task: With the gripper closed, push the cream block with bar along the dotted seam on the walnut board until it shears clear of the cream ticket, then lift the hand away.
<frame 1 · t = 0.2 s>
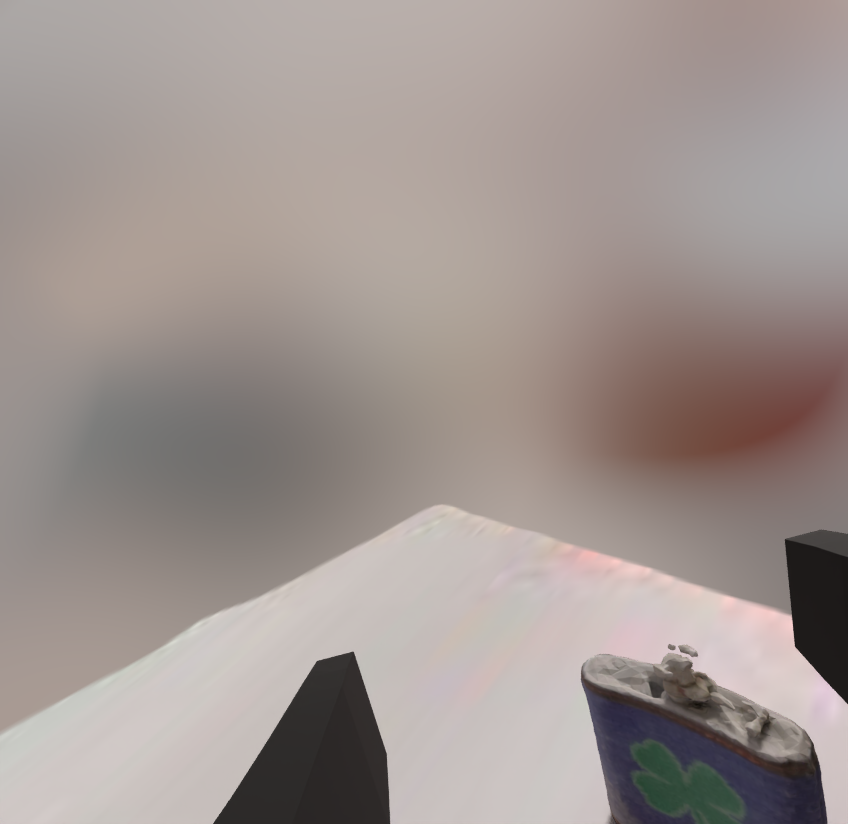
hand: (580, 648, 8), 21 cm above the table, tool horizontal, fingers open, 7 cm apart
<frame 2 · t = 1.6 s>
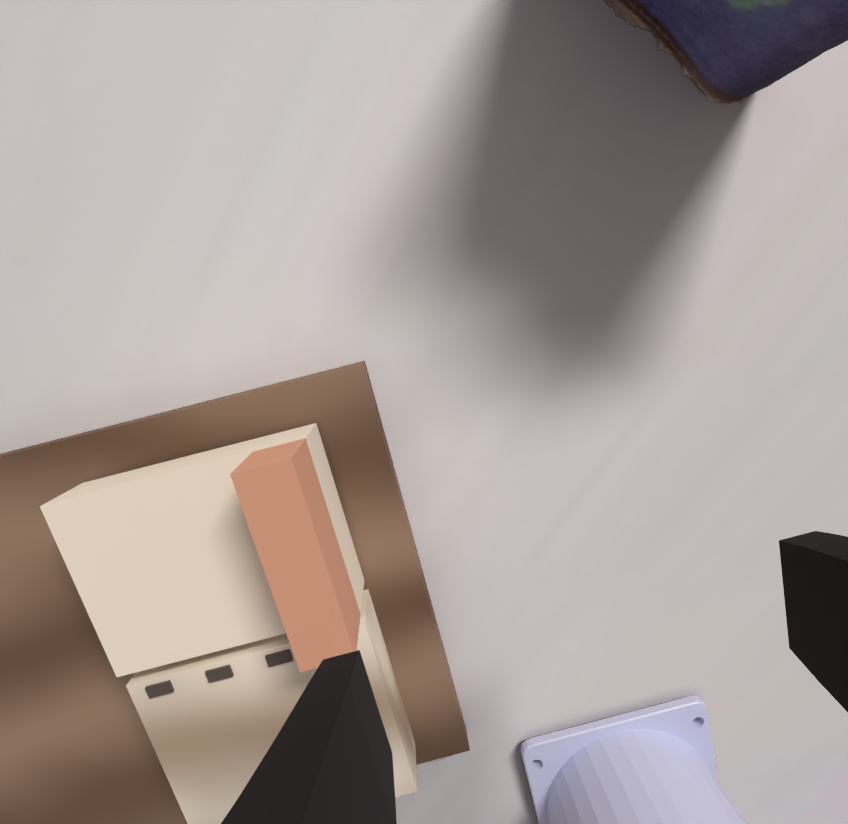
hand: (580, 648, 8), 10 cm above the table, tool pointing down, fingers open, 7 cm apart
cream block with bar: (207, 562, 15), point 3 cm above the table, slide at 0.0 cm
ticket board: (218, 613, 19), on the table
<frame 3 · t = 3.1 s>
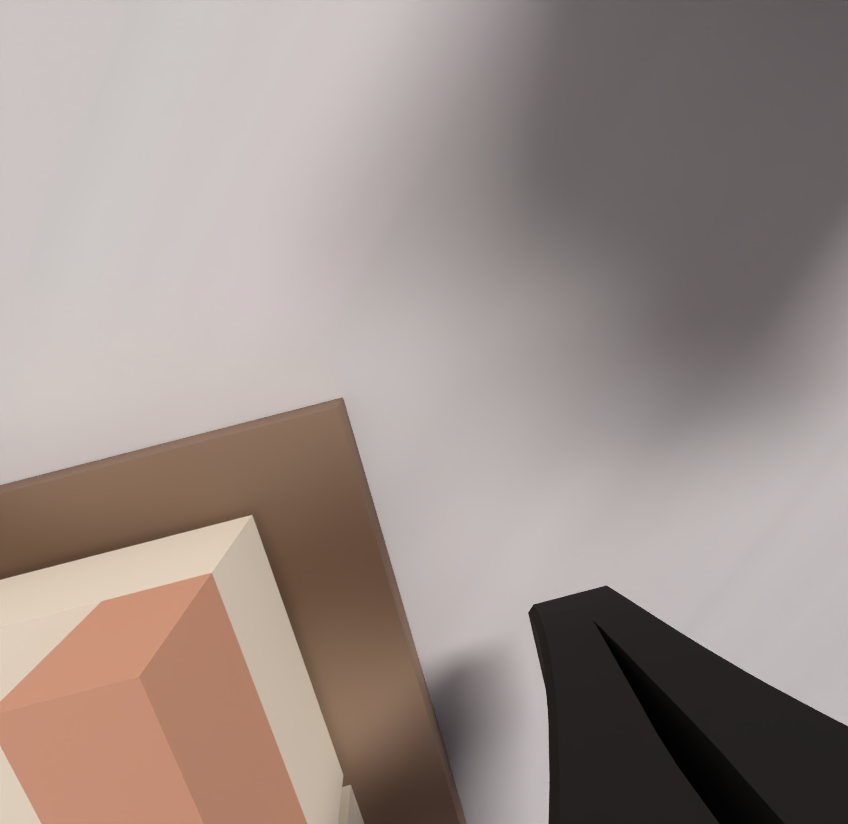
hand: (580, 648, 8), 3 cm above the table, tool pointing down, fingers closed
cream block with bar: (24, 809, 7), point 3 cm above the table, slide at 0.0 cm
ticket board: (105, 809, 11), on the table
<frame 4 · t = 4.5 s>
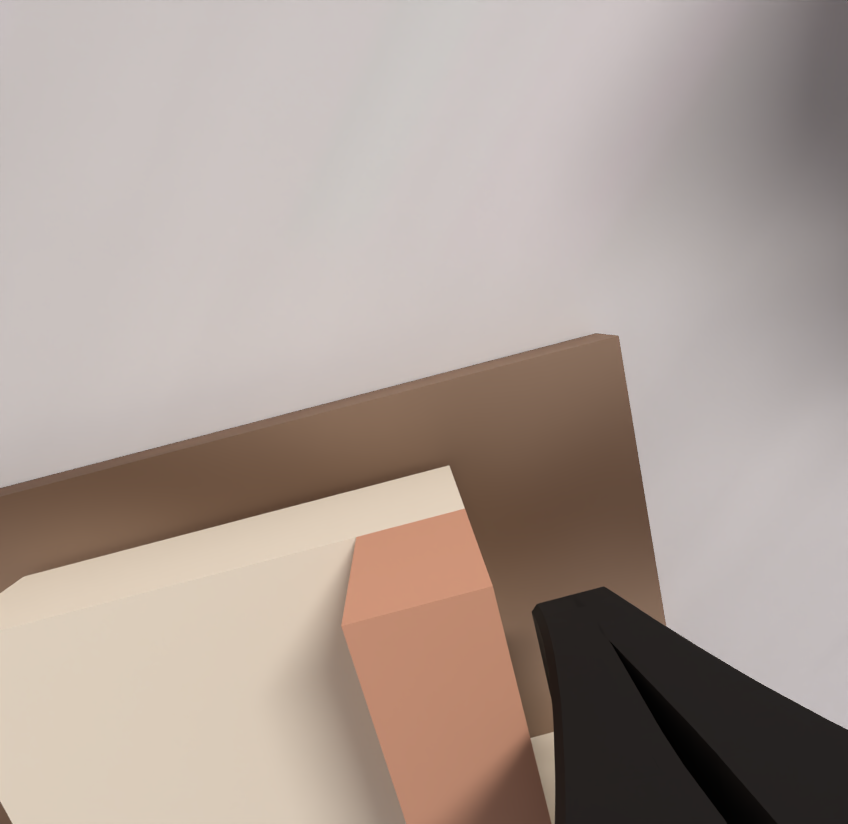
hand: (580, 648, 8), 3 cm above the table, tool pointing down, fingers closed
cream block with bar: (259, 748, 8), point 3 cm above the table, slide at 1.6 cm, touching gripper
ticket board: (325, 752, 11), on the table
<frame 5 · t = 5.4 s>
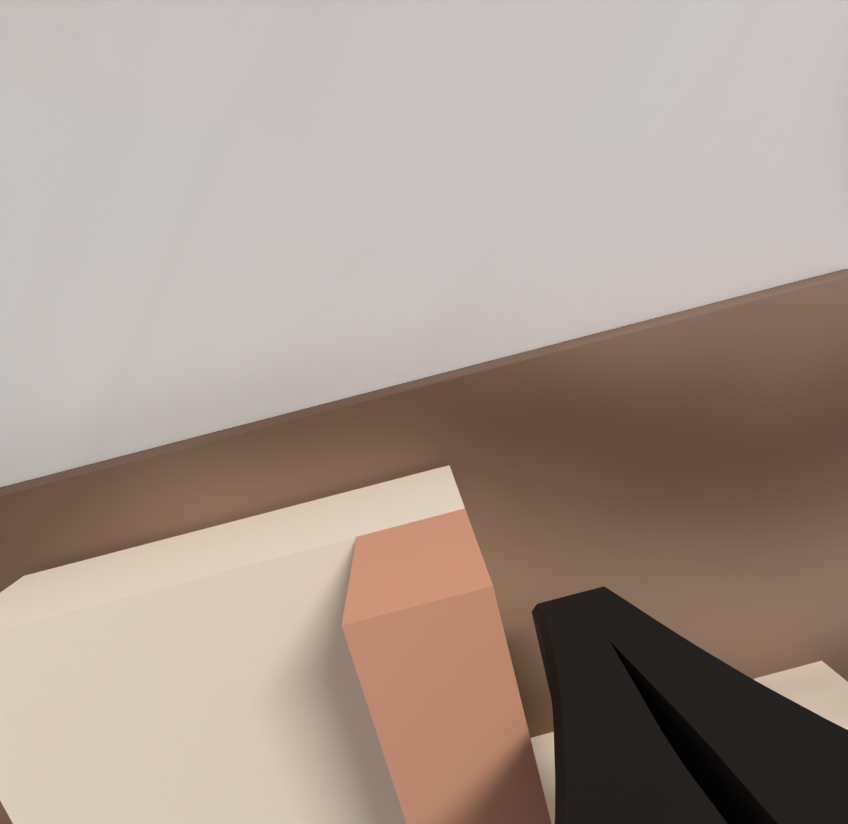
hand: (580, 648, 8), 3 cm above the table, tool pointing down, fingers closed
cream block with bar: (259, 748, 8), point 3 cm above the table, slide at 6.8 cm, touching gripper
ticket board: (540, 695, 11), on the table
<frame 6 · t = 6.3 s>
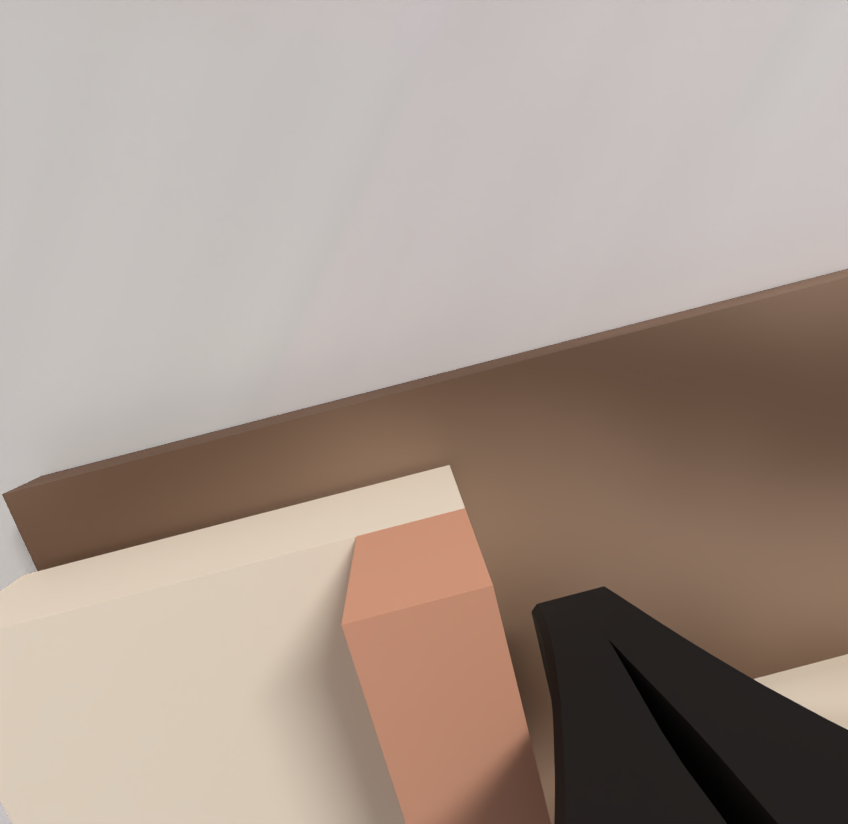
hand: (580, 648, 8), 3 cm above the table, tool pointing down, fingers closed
cream block with bar: (258, 748, 8), point 3 cm above the table, slide at 10.1 cm, touching gripper
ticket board: (675, 660, 11), on the table
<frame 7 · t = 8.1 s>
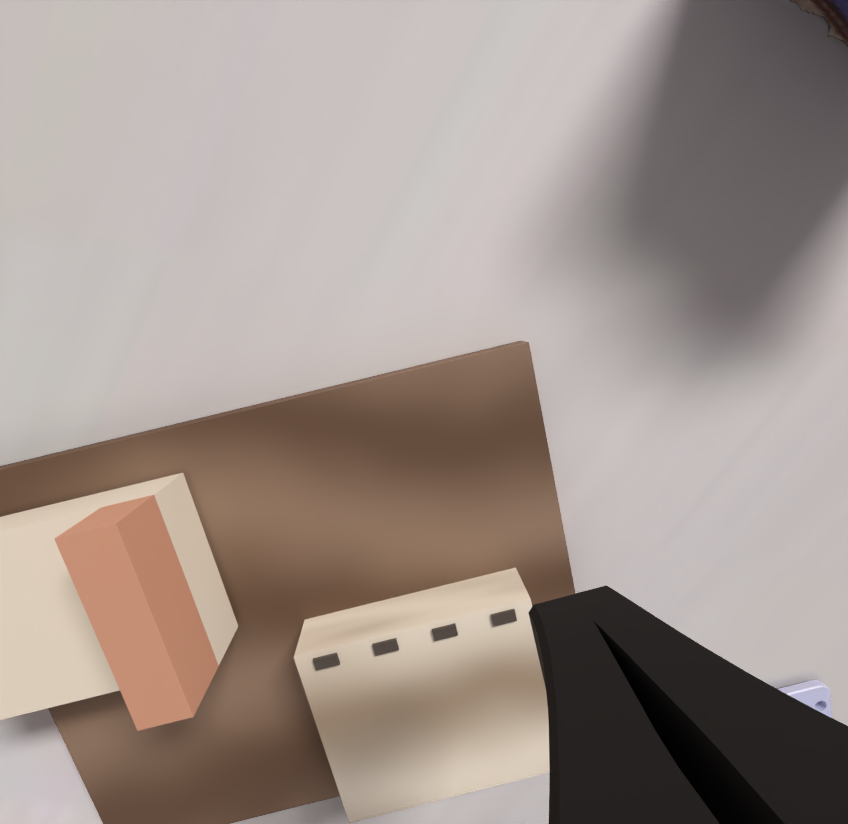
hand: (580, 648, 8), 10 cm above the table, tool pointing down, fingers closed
cream block with bar: (60, 615, 15), point 3 cm above the table, slide at 10.3 cm
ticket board: (359, 591, 19), on the table
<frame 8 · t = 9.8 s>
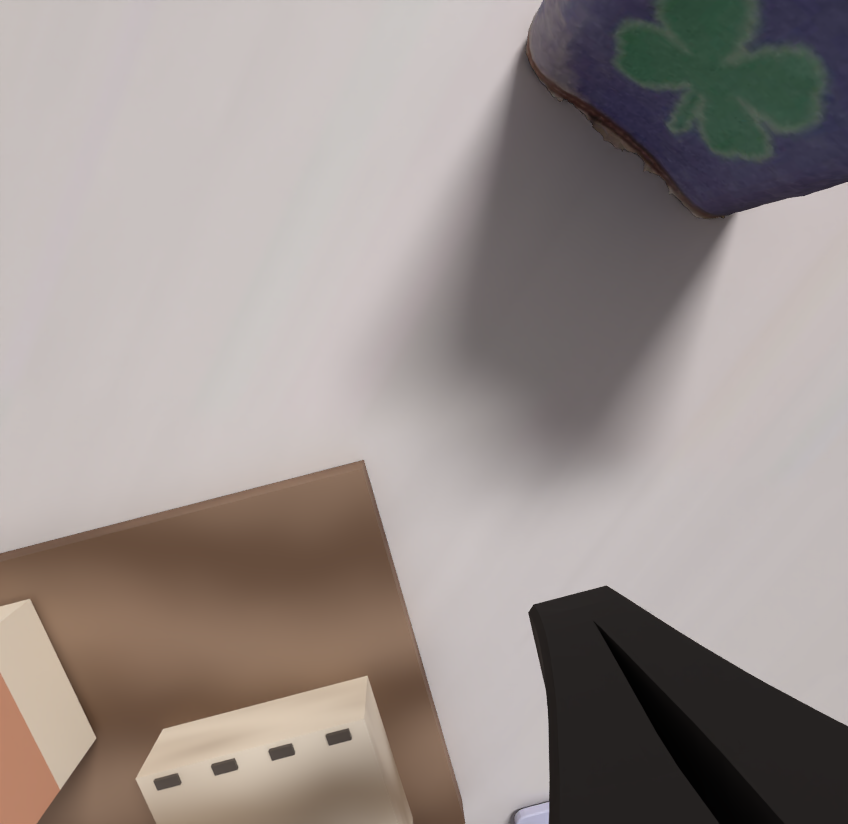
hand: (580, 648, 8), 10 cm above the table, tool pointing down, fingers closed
flask: (639, 119, 16), on the table
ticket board: (223, 695, 19), on the table
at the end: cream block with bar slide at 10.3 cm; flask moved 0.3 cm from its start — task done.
